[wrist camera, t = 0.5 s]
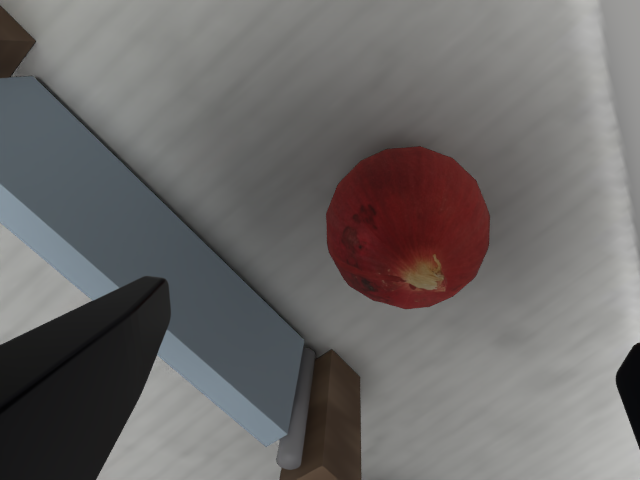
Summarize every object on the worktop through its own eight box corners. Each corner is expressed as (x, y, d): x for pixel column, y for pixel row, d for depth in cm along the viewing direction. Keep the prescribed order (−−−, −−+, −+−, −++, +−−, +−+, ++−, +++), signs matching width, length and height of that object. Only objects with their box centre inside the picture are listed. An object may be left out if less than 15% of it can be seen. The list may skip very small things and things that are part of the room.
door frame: (367, 372, 23) (371, 494, 17) (327, 397, 24) (316, 521, 18) (-15, -9, 17) (-241, -46, 10) (-49, 44, 18) (-276, 38, 11)
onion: (365, 272, 21) (371, 392, 13) (308, 169, 19) (278, 244, 11) (481, 222, 19) (558, 326, 12) (431, 105, 17) (487, 144, 10)
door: (320, 355, 23) (308, 462, 17) (304, 366, 23) (286, 474, 17) (32, 75, 18) (-126, 87, 12) (17, 95, 18) (-143, 115, 12)
